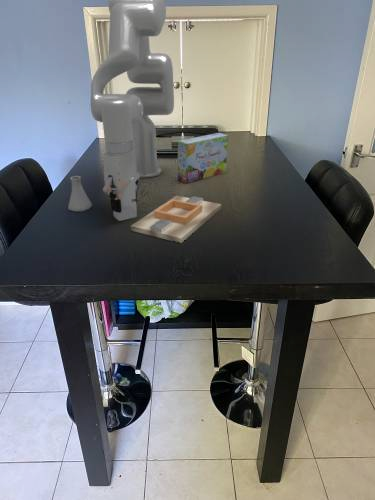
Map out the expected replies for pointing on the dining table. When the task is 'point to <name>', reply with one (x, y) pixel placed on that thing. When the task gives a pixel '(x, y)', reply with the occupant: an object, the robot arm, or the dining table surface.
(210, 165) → the snack box
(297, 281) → the dining table surface
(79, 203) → the flask
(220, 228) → the dining table surface
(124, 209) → the skincare box
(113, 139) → the robot arm
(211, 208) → the board
